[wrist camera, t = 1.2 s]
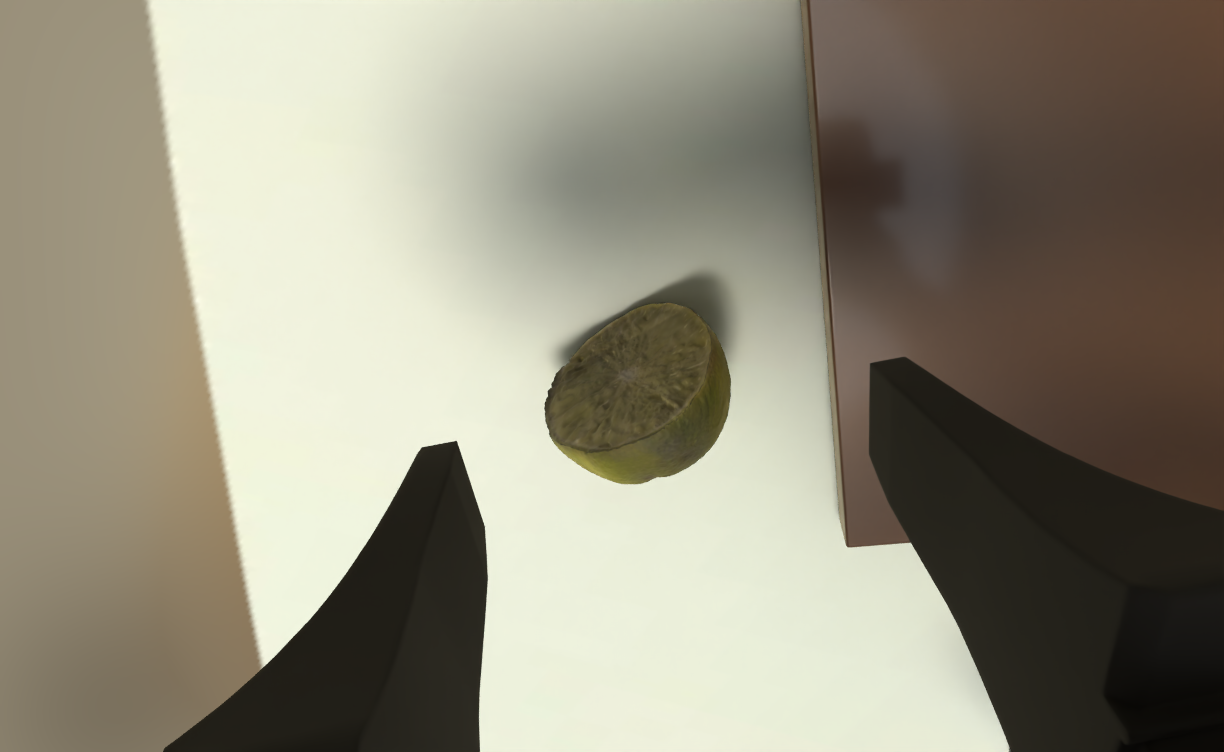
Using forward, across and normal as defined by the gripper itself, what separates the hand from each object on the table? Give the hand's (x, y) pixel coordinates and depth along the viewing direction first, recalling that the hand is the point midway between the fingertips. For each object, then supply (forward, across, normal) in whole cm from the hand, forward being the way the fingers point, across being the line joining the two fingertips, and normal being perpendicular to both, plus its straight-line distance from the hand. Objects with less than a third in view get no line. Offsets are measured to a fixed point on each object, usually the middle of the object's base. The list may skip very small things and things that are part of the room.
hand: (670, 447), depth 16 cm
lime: (+10, 0, +4) cm, 10 cm away
